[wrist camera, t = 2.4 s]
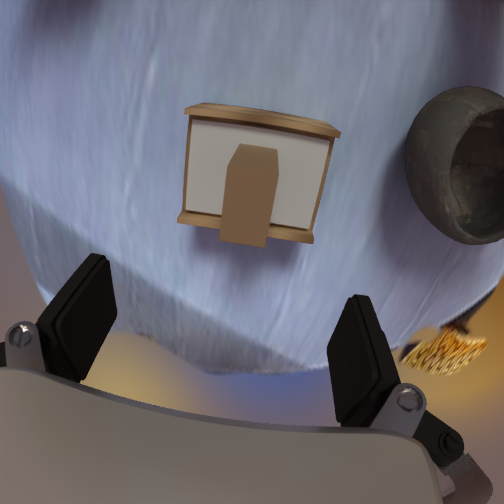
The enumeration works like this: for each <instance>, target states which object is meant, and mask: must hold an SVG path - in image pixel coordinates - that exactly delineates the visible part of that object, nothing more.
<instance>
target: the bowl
mask: <svg viewBox="0 0 504 504" xmlns="http://www.w3.org/2000/svg"><path fill="white" fill-rule="evenodd" d="M405 170H406V177H407V181H408V185H409V188H410V191H411V194H412V196H413V198H414V200H415V202H416V204H417V206H418V207H419V209H420V210H421V212H422V213H423V214H424V216H425V217H426V218H427V219H428V220H429V221H430V222H431V223H432V224H433V225H434V226H435V227H436V228H437V229H438V230H440V231H441V232H442V233H443V234H445V235H446V236H448V237H450V238H451V239H453V240H455V241H458V242H460V243H463V244H468V245H482V244H488V243H492V242H496V241H499V240H501V239H503V238H504V97H502V96H501V95H499V94H497V93H495V92H493V91H490V90H488V89H484V88H480V87H459V88H453V89H450V90H447V91H444V92H442V93H440V94H439V95H437V96H436V97H434V98H433V99H432V100H431V101H429V102H428V103H427V104H426V105H425V106H424V107H423V108H422V109H421V110H420V112H419V113H418V114H417V116H416V117H415V119H414V121H413V123H412V125H411V127H410V130H409V132H408V135H407V139H406V145H405Z"/></svg>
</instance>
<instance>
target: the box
mask: <svg viewBox="0 0 504 504" xmlns="http://www.w3.org/2000/svg"><path fill="white" fill-rule="evenodd" d="M184 114H188V115H189V123H188V134H187V145H186V157H185V171H184V187H183V205H182V212H181V213H180V215H179V216H178V218H177V223H181V224H188V225H195V226H201V227H208V228H215V229H220V225H221V216H222V215H219V214H212V213H205V212H198V211H191V210H186V192H187V177H188V163H189V151H190V140H191V129H192V120H193V119H205V120H215V121H224V122H232V123H240V124H247V125H254V126H260V127H267V128H273V129H279V130H284V131H290V132H295V133H300V134H305V135H310V136H315V137H320V138H324V139H329V140H330V144H329V149H328V153H327V158H326V162H325V166H324V171H323V175H322V179H321V183H320V187H319V192H318V196H317V200H316V204H315V208H314V212H313V216H312V220H311V223H310V227H309V229H305V228H300V227H294V226H288V225H282V224H276V223H270V224H269V230H268V235H267V237H272V238H278V239H284V240H290V241H296V242H302V243H308V244H313V242H314V237H313V232H312V230H313V226H314V222H315V218H316V214H317V210H318V207H319V203H320V199H321V195H322V191H323V187H324V183H325V178H326V174H327V170H328V166H329V162H330V157H331V153H332V149H333V144H334V140H335V137H336V138H340V134H341V132H340V131H338V130H337V129H336V128H334V127H333V126H331V125H330V124H328V123H327V122H324V121H319V120H315V119H310V118H305V117H300V116H295V115H290V114H284V113H279V112H273V111H266V110H260V109H253V108H246V107H238V106H230V105H221V104H211V103H201V104H197V105H194V106H190V107H187V108H185V112H184Z"/></svg>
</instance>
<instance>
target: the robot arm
mask: <svg viewBox="0 0 504 504" xmlns="http://www.w3.org/2000/svg"><path fill="white" fill-rule="evenodd" d="M116 317H117V307H116V301H115V295H114V289H113V283H112V276H111V269H110V262H109V260H107V259H106V257H105V256H104V255H100V254H95V253H91V254H90V255H89V256H88V257H87V258H86V259H85V261H84V262H83V263H82V264H81V265H80V266H79V268H78V269H77V270H76V271H75V272H74V274H73V275H72V276H71V277H70V278H69V280H68V281H67V282H66V283H65V284H64V286H63V287H62V288H61V289H60V291H59V292H58V293H57V295H56V296H55V297H54V298H53V300H52V301H51V302H50V304H49V305H48V306H47V308H46V309H45V310H44V311H43V313H42V314H41V316H40V317H39V319H38V321H37V323H36V324H33V323H31V322H28V321H22V322H18V323H16V324H14V325H13V326H12V327H10V328H9V330H8V331H7V333H6V335H5V342H2V343H0V504H486V503H487V502H488V501H489V499H490V497H491V496H492V492H493V486H492V483H491V481H490V479H489V478H488V477H487V476H486V474H485V473H484V472H483V471H482V469H481V468H480V467H479V466H478V464H477V463H476V462H475V461H474V459H473V458H472V457H471V456H470V455H469V453H467V454H464V452H463V451H464V442H463V439H462V437H461V436H460V434H459V433H458V432H456V431H455V430H454V429H452V428H451V427H449V426H448V425H446V424H445V423H444V422H442V421H441V420H439V419H438V418H437V417H435V416H434V415H433V414H431V413H430V412H428V411H427V410H426V405H427V402H426V398H425V395H424V393H423V392H422V391H421V390H420V389H419V388H418V387H417V386H415V385H413V384H409V383H401V381H400V378H399V375H398V372H397V369H396V366H395V363H394V360H393V357H392V354H391V351H390V348H389V345H388V342H387V339H386V336H385V334H384V332H383V331H382V330H381V327H380V324H379V321H378V319H377V316H376V313H375V311H374V308H373V305H372V303H371V300H370V298H369V296H365V295H357V294H355V295H353V297H352V298H351V297H350V298H348V300H347V302H346V304H345V307H344V309H343V311H342V314H341V316H340V318H339V321H338V323H337V325H336V327H335V330H334V332H333V334H332V336H331V338H330V341H329V343H328V346H327V357H328V363H329V370H330V377H331V384H332V391H333V398H334V406H335V414H336V420H337V422H340V423H341V427H321V426H318V427H317V426H298V425H281V424H269V423H258V422H249V421H240V420H232V419H225V418H219V417H212V416H206V415H200V414H195V413H189V412H184V411H179V410H174V409H169V408H165V407H160V406H156V405H152V404H147V403H144V402H140V401H135V400H132V399H128V398H125V397H121V396H117V395H114V394H111V393H107V392H104V391H101V390H98V389H95V388H92V387H88V386H85V385H82V384H79V383H80V381H81V380H84V379H85V378H86V376H87V374H88V372H89V370H90V368H91V366H92V364H93V362H94V360H95V358H96V356H97V353H98V352H99V350H100V348H101V346H102V344H103V342H104V340H105V338H106V336H107V335H108V333H109V331H110V329H111V327H112V325H113V323H114V321H115V320H116Z"/></svg>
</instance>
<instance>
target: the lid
mask: <svg viewBox="0 0 504 504" xmlns="http://www.w3.org/2000/svg"><path fill="white" fill-rule="evenodd" d="M329 144H330V140H329V139H324V138H320V137H315V136H310V135H305V134H300V133H295V132H290V131H284V130H279V129H273V128H267V127H260V126H254V125H247V124H240V123H232V122H224V121H215V120H205V119H193V120H192V129H191V140H190V151H189V163H188V177H187V192H186V210H191V211H198V212H205V213H212V214H219V215H222V216H221V225H220V234H219V241H224V242H230V243H237V244H243V245H249V246H256V247H262V248H265V245H266V240H267V235H268V230H269V224H270V223H276V224H282V225H288V226H294V227H300V228H305V229H309V227H310V223H311V220H312V216H313V212H314V208H315V204H316V200H317V196H318V192H319V187H320V183H321V179H322V175H323V171H324V166H325V162H326V158H327V153H328V149H329Z"/></svg>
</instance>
